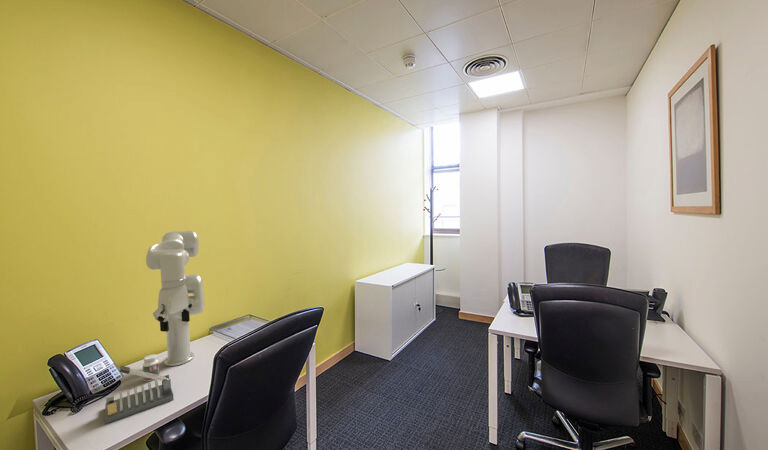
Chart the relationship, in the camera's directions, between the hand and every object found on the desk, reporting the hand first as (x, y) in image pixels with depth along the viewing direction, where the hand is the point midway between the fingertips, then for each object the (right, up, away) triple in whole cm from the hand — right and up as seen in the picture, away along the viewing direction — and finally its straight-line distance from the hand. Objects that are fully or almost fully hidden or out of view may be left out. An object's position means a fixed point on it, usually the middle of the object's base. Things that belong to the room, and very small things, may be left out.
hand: (175, 326), depth 119 cm
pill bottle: (-22, -29, +16) cm, 40 cm away
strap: (-12, -19, -1) cm, 22 cm away
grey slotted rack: (-13, -30, -2) cm, 32 cm away
